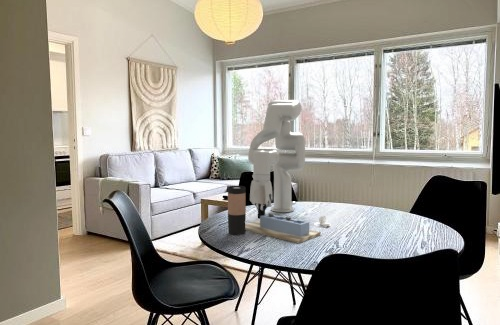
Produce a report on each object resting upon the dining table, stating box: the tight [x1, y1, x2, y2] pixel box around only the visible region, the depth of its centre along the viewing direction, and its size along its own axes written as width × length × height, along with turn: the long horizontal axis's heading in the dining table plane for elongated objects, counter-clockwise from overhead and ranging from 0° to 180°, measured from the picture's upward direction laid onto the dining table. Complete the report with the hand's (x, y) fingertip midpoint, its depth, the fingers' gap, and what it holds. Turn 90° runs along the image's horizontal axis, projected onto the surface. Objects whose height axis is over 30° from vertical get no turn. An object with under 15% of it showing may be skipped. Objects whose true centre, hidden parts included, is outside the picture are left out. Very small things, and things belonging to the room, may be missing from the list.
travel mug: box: [227, 185, 247, 236], centre depth 164 cm, size 8×8×20 cm
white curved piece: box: [313, 215, 332, 228], centre depth 179 cm, size 9×8×4 cm
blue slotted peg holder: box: [259, 213, 310, 237], centre depth 164 cm, size 6×22×5 cm, turn 47°
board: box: [245, 212, 322, 244], centre depth 167 cm, size 16×32×7 cm, turn 47°
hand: (261, 218), depth 173 cm, fingers closed
